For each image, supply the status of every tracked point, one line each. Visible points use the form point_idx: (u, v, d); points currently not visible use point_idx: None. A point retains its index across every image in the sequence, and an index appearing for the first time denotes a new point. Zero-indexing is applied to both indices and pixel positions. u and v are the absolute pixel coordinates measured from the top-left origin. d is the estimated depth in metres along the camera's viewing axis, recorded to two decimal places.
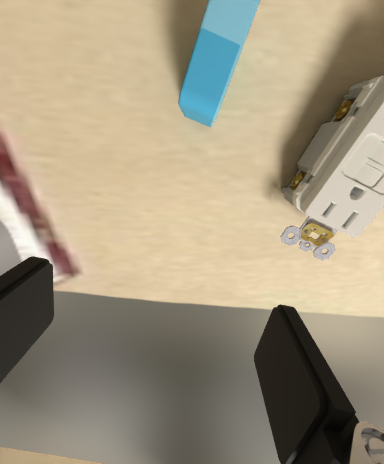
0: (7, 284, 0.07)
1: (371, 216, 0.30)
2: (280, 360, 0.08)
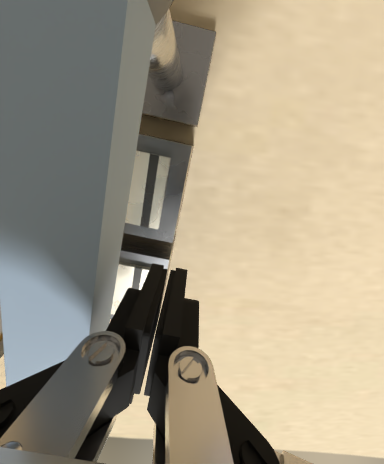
0: (154, 287, 0.08)
1: None
2: None
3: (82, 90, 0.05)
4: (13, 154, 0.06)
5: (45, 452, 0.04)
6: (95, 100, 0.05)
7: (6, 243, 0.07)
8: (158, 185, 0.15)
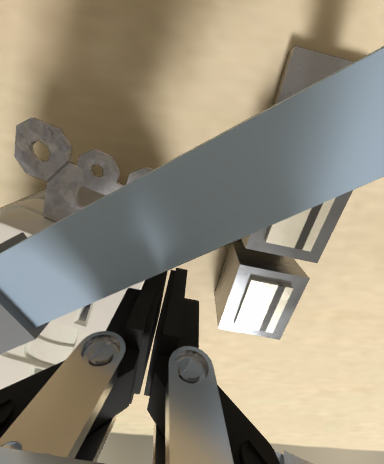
0: (154, 287, 0.08)
1: None
2: None
3: None
4: (352, 93, 0.05)
5: (45, 452, 0.04)
6: None
7: (247, 134, 0.06)
8: (322, 212, 0.16)
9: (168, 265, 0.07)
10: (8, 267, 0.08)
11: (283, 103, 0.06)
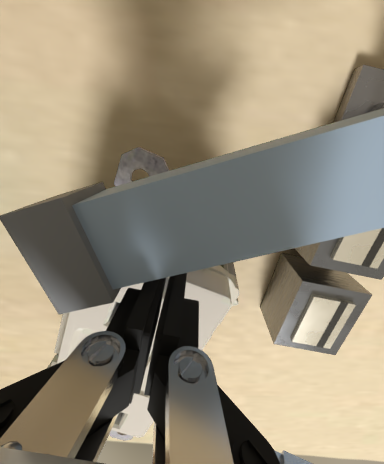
0: (154, 287, 0.08)
1: (148, 418, 0.18)
2: None
3: None
4: None
5: (45, 452, 0.04)
6: None
7: None
8: None
9: (293, 243, 0.07)
10: (110, 213, 0.06)
11: None
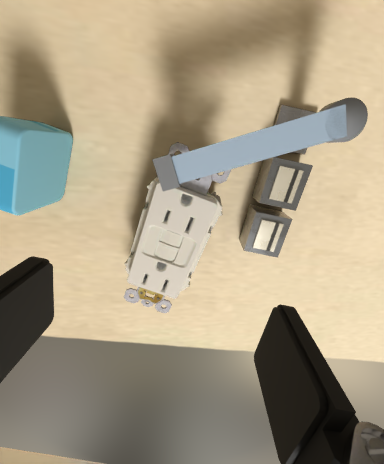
0: (7, 284, 0.07)
1: (180, 282, 0.36)
2: (280, 360, 0.08)
3: (308, 139, 0.23)
4: (288, 128, 0.23)
5: None
6: (307, 142, 0.23)
7: (261, 132, 0.23)
8: (296, 183, 0.33)
9: (230, 167, 0.24)
10: (181, 159, 0.24)
11: None
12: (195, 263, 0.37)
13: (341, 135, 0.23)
